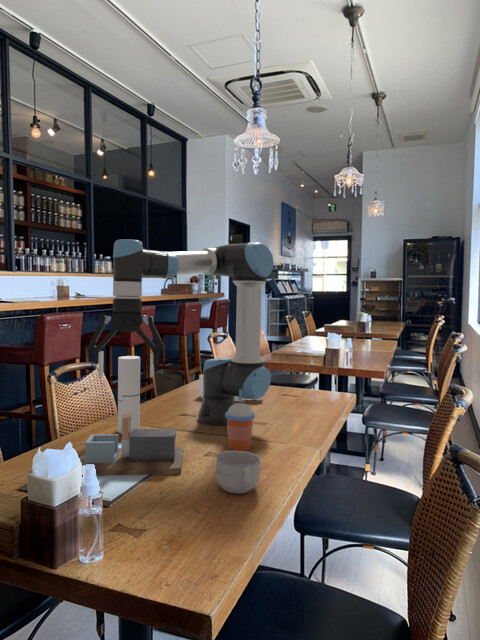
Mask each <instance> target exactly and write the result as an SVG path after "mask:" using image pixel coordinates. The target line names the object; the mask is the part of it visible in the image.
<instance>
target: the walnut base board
mask: <svg viewBox="0 0 480 640" xmlns="http://www.w3.org/2000/svg"><path fill="white" fill-rule="evenodd" d="M183 456H184V447H176V454H175V461H174V462H136V463H129V457H121V447H118V455H117V457H116V459H115V461H114V463H85V449H84V450H83V451H82V453H81V454H80V456H79V457H78V458H80V461H81V463H82V466H83V465H86V464H94V465H95V469H96V474H97V475H96V476H124V475H125V476H127V475H131V476H132V475H133V476H135V475H136V476H137V475H182V470H183V469H182V468H183V467H182V466H183V458H184V457H183Z"/></svg>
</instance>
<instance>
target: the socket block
mask: <svg viewBox="0 0 480 640" xmlns="http://www.w3.org/2000/svg"><path fill="white" fill-rule="evenodd" d="M84 446H85V448H84V450H85V463H114V461H115V459H116V457H117V455H118V448H119V433H118V434H117V433H115V434H113V433H112V434H110V433H109V434H103V433H102V434H90V436H89V437H88V438H87V440H86V441H85V443H84Z"/></svg>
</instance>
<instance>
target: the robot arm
mask: <svg viewBox="0 0 480 640" xmlns="http://www.w3.org/2000/svg"><path fill="white" fill-rule="evenodd" d="M112 252H113V253H112V254H113V255H112V259H113V261H112V262H113V263H112V265H113V268H112V271H113V272H112V274H113V277H112V278H113V281H112V296H113V297H114V298H113V300H112V315H111V316H109V315H105V314H104V315H103V314H102V315H101V316H100V317H99V318H100V319H99V324H98V326H97V327H96V329H95V331H94V333H93V336H92V337H91V338H90V342H89V343H88V345H87V346H86V347H87V350H89V351H92V352H94V365H95V364H96V365H98V370H97V371H98V372H97V373H98V374H97V376H98V378H102V377H103V376H104V351H103V350H102V349H103V348H104V347H105V346H106V345H107V343H108V342H110V340H112V338H113V337H114V336H115V335H116V333H117V332H119V333H133V334H134V333H135V332H136V334H138V336H140V338H141V339H142V340H143V342H144V343H145V344H146V345H147V346H148V348H149V349H150V350H151V352H150V354H149V356H150V358H149V361H150V362H149V378H154V376H155V365H158V363H159V353H160V352H162V351H165V348H166V346H165V344H164V342H163V340H162V337H161V335H160V334H159V331H158V329H157V327H156V325H155V323H154V321H155V320H154V316H152V315H150V316H146V317H145V316H144V317H143V314H142V309H143V308H142V306H143V304H142V298H141V297H142V296H143V284H142V283H143V278H148V279H149V278H161V279H172V278H174V277H175V276H176V275H188V274H189V275H191V274H203V275H205V276H221V277H229V278H231V277H232V283H233V284H234V285H235V286H236V316H235V317H236V319H235V320H236V321H235V354H234V356H232V357H220V358H210V359H207V360H205V361H204V364H203V370H202V371H203V374H202V375H203V397H202V401H201V405H200V406H199V407H200V408H199V410H198V414H197V416H198V417H197V420H198V421H199V422H200V423H201V424H205V425H210V426H227V423H228V422H227V419H226V417H225V414H226V412H227V411H228V409H229V408H230V407H231V406H232V405H233V404H236V403H237V402H235V399H234V398H235V396H237V397H239V389H242V398H244V399H251V400H257V399H260V398H261V397H264V396H265V395H266V393H267V392H268V390H269V388H270V385H271V381H272V376H271V372H270V370H269V369H268V368H266V367H265V359H263V358H262V356H261V332H262V331H261V329H262V328H261V326H262V325H261V324H262V320H261V319H262V287H263V286H264V285H265V284H266V283H267V277H268V276H269V275H271V274H272V272H273V270H274V267H275V266H274V264H275V263H274V257H273V254H272V251H271V250H270V248H269V247H268V245H267V244H265V243H262V242H253V241H252V242H250V241H249V242H243V243H228V244H225V245H224V244H223V245H218V246H214V247H205V248H203V249H201V250H193V251H192V250H191V251H190V250H189V251H167V250H165V251H163V250H162V251H161V250H151V249H145V248H144V247H143V241H141V240H138V239H129V238H128V239H126V238H125V239H123V238H122V239H117V240H115V241H114V244H113V251H112ZM110 322H111V323H112V325H113V327H112V328H111V329H110V330H109V332H108V333H107V334H106V335H105V336H104V338H103V339H102V340H101V341H100V342H99V343H98V344H97V342H98V340H99V339H100V337H101V334H102V333H103V331H104V329H105V327H106V325H108V324H109V323H110ZM143 322H144V323H145V325H148V328H149V330H150V332H151V334H152V336H153V337H154V340H155V342H156V343H157V346H156V344H155V343H154V341H152V340H151V338H150V337H149V336H148V335H147V333H146V331H144V329H143V328H142V327H141V325H142V323H143ZM96 344H97V345H96ZM257 401H258V400H257Z"/></svg>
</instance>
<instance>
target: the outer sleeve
mask: <svg viewBox="0 0 480 640" xmlns="http://www.w3.org/2000/svg"><path fill="white" fill-rule="evenodd" d="M176 433H177V429H176V428H140V429H133V430H132V432H131V434H130V436H129V463H136V462H174V461H175V454H176V448H177V443H176V441H177V434H176Z"/></svg>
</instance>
